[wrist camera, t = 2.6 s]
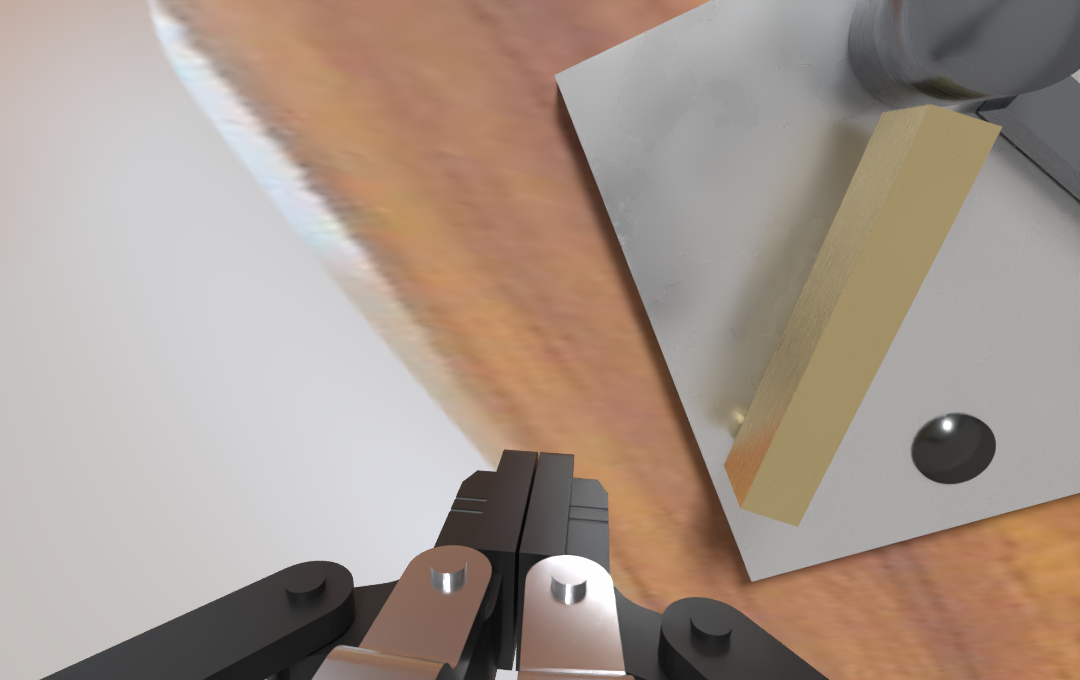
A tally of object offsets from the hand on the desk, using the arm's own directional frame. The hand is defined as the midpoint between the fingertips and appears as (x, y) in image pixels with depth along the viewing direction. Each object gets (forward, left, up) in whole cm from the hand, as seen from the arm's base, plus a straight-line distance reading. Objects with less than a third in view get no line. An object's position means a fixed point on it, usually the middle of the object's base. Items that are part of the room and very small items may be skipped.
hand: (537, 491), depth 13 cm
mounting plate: (-12, 0, -8) cm, 15 cm away
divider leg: (-8, 0, -7) cm, 10 cm away
